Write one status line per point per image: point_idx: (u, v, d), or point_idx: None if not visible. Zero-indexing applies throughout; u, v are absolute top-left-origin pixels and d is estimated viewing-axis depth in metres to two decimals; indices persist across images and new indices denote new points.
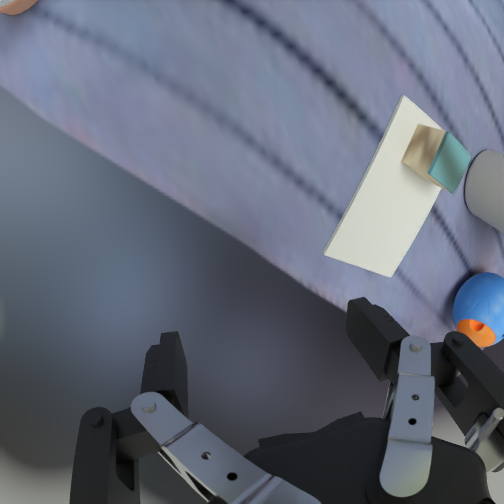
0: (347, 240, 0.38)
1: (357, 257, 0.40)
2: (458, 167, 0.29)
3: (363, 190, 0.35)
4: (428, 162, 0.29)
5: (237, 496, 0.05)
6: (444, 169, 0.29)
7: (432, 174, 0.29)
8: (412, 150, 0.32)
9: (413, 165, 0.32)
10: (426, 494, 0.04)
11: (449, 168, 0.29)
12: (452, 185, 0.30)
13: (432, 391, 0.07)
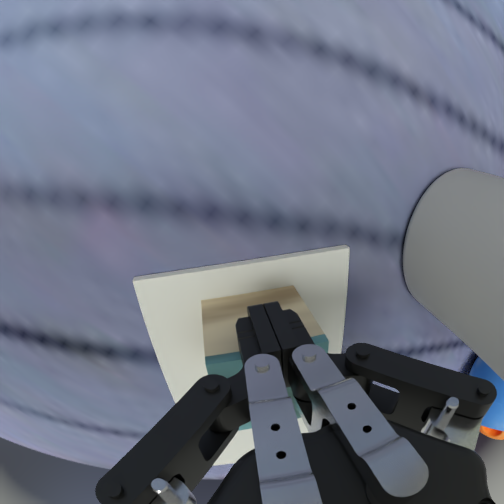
0: None
1: None
2: None
3: None
4: None
5: (270, 473, 0.05)
6: None
7: None
8: None
9: None
10: (426, 494, 0.04)
11: None
12: None
13: (363, 392, 0.07)
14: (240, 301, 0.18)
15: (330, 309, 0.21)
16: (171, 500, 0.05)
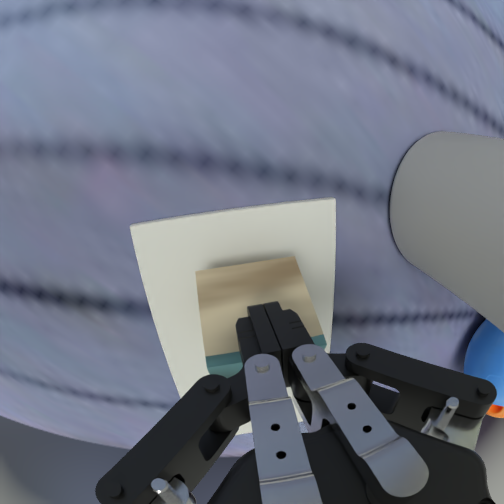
0: None
1: (245, 427, 0.27)
2: None
3: (181, 380, 0.23)
4: None
5: (270, 473, 0.05)
6: None
7: None
8: None
9: None
10: (426, 494, 0.04)
11: None
12: None
13: (362, 392, 0.07)
14: (238, 276, 0.17)
15: (320, 261, 0.21)
16: (171, 500, 0.05)
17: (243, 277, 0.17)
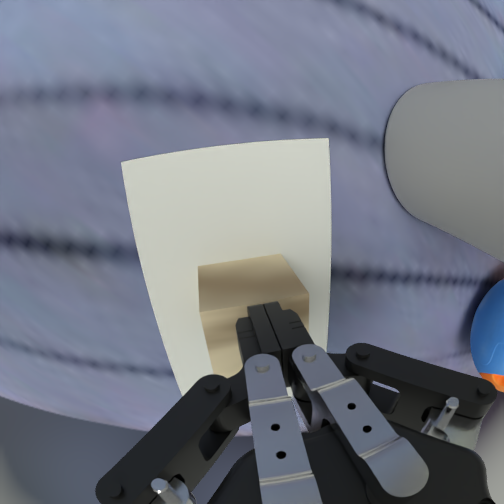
0: None
1: None
2: None
3: (170, 338, 0.23)
4: None
5: (270, 473, 0.05)
6: None
7: None
8: None
9: None
10: (426, 494, 0.04)
11: None
12: None
13: (363, 392, 0.07)
14: None
15: (315, 202, 0.21)
16: (171, 500, 0.05)
17: None
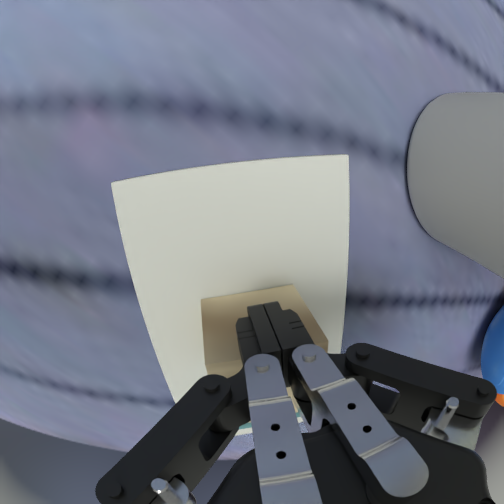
0: None
1: None
2: None
3: (171, 371, 0.20)
4: None
5: (270, 473, 0.05)
6: None
7: None
8: None
9: None
10: (426, 494, 0.04)
11: None
12: None
13: (362, 392, 0.07)
14: None
15: (331, 227, 0.18)
16: (171, 500, 0.05)
17: None
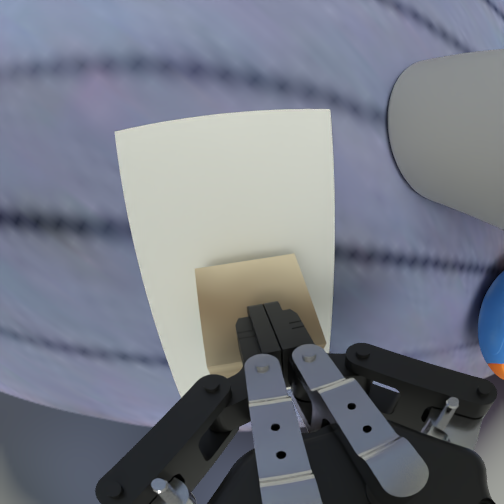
0: None
1: None
2: None
3: (163, 322, 0.21)
4: None
5: (270, 473, 0.05)
6: None
7: None
8: None
9: None
10: (426, 494, 0.04)
11: None
12: None
13: (362, 392, 0.07)
14: None
15: (317, 175, 0.19)
16: (171, 500, 0.05)
17: None
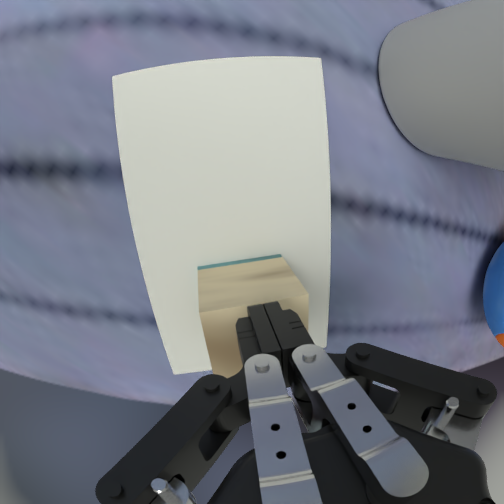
0: (191, 346, 0.23)
1: None
2: None
3: (151, 272, 0.20)
4: None
5: (270, 473, 0.05)
6: None
7: None
8: None
9: None
10: (426, 494, 0.04)
11: None
12: None
13: (362, 392, 0.07)
14: None
15: (310, 118, 0.18)
16: (171, 500, 0.05)
17: None
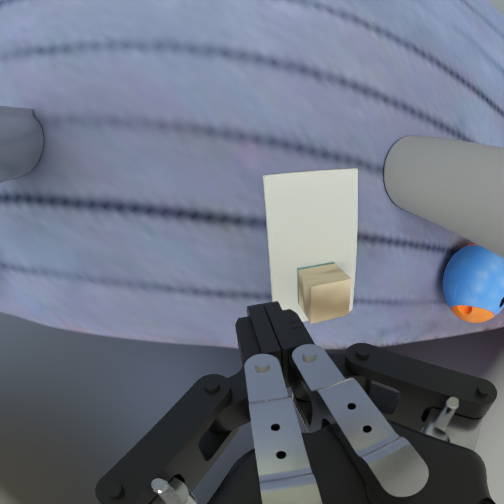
0: None
1: (305, 315, 0.47)
2: None
3: (275, 271, 0.43)
4: (299, 279, 0.43)
5: (270, 473, 0.05)
6: None
7: None
8: (307, 295, 0.40)
9: (304, 279, 0.41)
10: (426, 494, 0.04)
11: None
12: None
13: (363, 392, 0.07)
14: None
15: (350, 199, 0.41)
16: (171, 500, 0.05)
17: None
